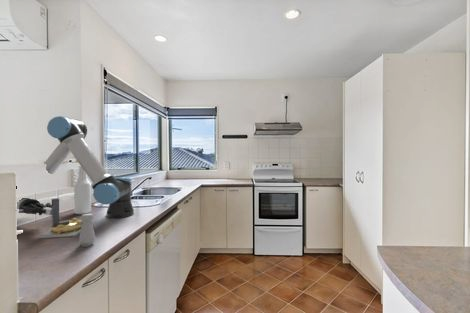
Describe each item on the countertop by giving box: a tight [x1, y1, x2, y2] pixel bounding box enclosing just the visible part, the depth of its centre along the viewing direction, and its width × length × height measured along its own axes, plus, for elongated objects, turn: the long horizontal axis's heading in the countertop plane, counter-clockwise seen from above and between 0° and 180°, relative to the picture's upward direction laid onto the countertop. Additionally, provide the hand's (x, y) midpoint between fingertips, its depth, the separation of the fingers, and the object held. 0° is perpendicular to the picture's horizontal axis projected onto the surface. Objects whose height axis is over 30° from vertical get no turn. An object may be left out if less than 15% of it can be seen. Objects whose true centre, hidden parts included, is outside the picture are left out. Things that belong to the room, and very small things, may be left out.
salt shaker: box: [78, 212, 96, 248], centre depth 94 cm, size 6×6×13 cm
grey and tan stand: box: [50, 197, 83, 232], centre depth 110 cm, size 13×13×15 cm
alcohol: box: [73, 164, 92, 215], centre depth 142 cm, size 9×9×30 cm
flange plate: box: [39, 228, 81, 239], centre depth 110 cm, size 14×18×2 cm
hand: (51, 212), depth 106 cm, fingers closed
